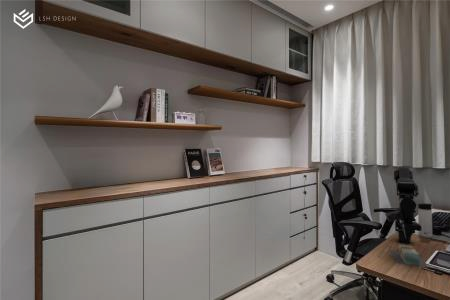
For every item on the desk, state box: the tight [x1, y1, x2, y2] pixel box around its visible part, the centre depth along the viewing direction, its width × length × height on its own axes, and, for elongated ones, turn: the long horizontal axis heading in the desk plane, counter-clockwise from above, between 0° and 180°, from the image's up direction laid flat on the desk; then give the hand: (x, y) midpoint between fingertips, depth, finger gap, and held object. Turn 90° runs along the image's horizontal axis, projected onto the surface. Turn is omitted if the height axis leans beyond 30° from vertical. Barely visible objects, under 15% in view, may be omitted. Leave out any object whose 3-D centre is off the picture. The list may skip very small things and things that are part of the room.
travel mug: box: [417, 203, 433, 239], centre depth 144 cm, size 6×7×20 cm
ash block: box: [398, 244, 420, 267], centre depth 113 cm, size 5×5×10 cm
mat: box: [388, 249, 430, 269], centre depth 115 cm, size 16×12×1 cm
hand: (407, 239), depth 114 cm, fingers closed
